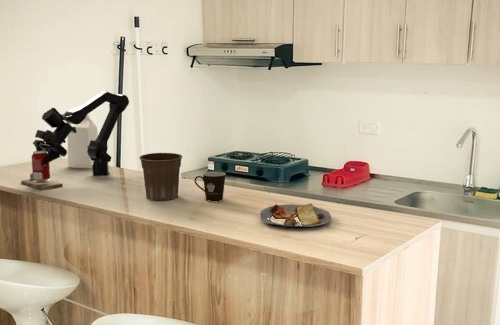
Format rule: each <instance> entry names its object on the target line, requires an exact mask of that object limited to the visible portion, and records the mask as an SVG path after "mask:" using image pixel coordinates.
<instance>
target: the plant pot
mask: <svg viewBox="0 0 500 325" xmlns="http://www.w3.org/2000/svg"><path fill="white" fill-rule="evenodd" d="M182 159H183V155H182V154H179V153H174V152H173V153H172V152H154V153H153V152H151V153H146V154H142V155H139V160H140V164H141V168H142V173H143V180H144V188H145V196H146V199H147V200H150V201H154V200H155V201H156V202H159V201H160V202H161V200H162V201H164V200H165V201H171V200H170V199H172V200H175V199H177V198H178V197H179V185H180V184H179V182H180V181H179V180H180V168H181V165H182Z"/></svg>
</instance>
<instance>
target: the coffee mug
mask: <svg viewBox="0 0 500 325" xmlns="http://www.w3.org/2000/svg"><path fill="white" fill-rule="evenodd" d="M198 178H200V179H201V180H202V181H203V185H204V186H203V187H204V188H203V187H201V186H200V185H199V183H198V182H197V179H198ZM225 181H226V172H223V171H206V172H203V173H202V176H201V175H197V176H195V177H194V181H193V182H194V184H195V185H196V186H197V188H199V189H200V190H201V191H202V192H204V194H205V196H204V197H205V201H207V200H210V201H218V202H221V201H220V200H222V199H224V192H225V183H226V182H225ZM210 201H209V202H210ZM222 201H223V200H222Z"/></svg>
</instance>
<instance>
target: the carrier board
mask: <svg viewBox="0 0 500 325" xmlns="http://www.w3.org/2000/svg"><path fill="white" fill-rule="evenodd" d="M20 181H21V184H22V185H26V186H28V187H31V188H34V189H38V190H40V191H46V190H51V189H57V188H61V187H62V188H63V186H64V185H63V183H61V182H58V181H56V180H52V179H48V180H46V181H36V180H34V179H33V172H32V173H29V179H23V180H20Z"/></svg>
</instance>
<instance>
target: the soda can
mask: <svg viewBox="0 0 500 325" xmlns="http://www.w3.org/2000/svg"><path fill="white" fill-rule="evenodd" d="M47 153H48V152H47V151H36V150H35V151H33V152H32V155H31V168H32V169H31V171H32V173H33V179H34V180H36V181H46V180H51V171H50V162H49V163H47V164H45V165H41V163H42V161H43V159H44V158H45V156H46V154H47Z"/></svg>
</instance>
